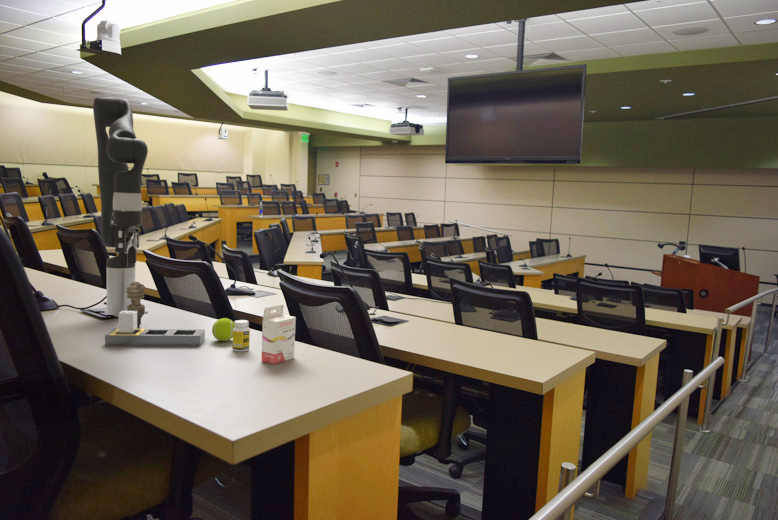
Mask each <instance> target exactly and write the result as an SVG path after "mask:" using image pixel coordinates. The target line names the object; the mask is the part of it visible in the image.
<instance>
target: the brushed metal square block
mask: <svg viewBox="0 0 778 520" xmlns="http://www.w3.org/2000/svg"><path fill="white" fill-rule="evenodd" d="M117 318H118V321H117V322H118V328H117V329H118V331H119V334H136V333H137V329H138V327H137V311H121V312H120V313H118V317H117Z"/></svg>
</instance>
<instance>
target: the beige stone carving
mask: <svg viewBox="0 0 778 520" xmlns="http://www.w3.org/2000/svg"><path fill="white" fill-rule="evenodd" d="M126 289H127V291H126V293H127V294H128V295H127V298H130V299H131V304H130V305H128V306H127V311H137V328H140V326H141V324H142V322H141V321H142V318H143V316H144V315H145V313H146V312H145V311H146V310H145V309H146V306H145V305H144V304H142V303H141V302H142V301H141V300H143V299H144V298H145V289H146V287H145V285H144V284H143V283H141V282H138V281H135V282H132V283H130V286H127V287H126Z"/></svg>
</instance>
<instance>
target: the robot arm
mask: <svg viewBox="0 0 778 520" xmlns="http://www.w3.org/2000/svg"><path fill="white" fill-rule="evenodd" d="M92 105H93V107H92V110H93V120H94V127H95V135H96V146H97V166H98V167H97V169H98V171H97V172H98V182H99V183H98V185H99V193H100V195H99V196H100V203H101V204H100V208H101V209H100V215H101V217H100V220H101V221H100V225H101V226H100V232H101V233H100V235H101V236H100V237H101V243H102V245H103V246H104V247H105V248H115V249H114V251H115V252H116V253H117V254H118V255H115V256H111V257H109V258H107V259H106V260H105V261H106V263H105V265H106V315H107V314H109V315H114V316H115V317H114V318H118V313H120V312H121V311H127V306H128V305H130V304H131V299H130V298H127V295H128V294H127V293H126V291H127V289H126V287H127V286H130V283H132V282H136V263H137V251H138V249H140V229H139V228H138V227H140V226H142V225H143V202H142V192H141V190H142V185H141V184H142V175H143V170H144V166H145V162H146V160H147V156H148V152H149V151H148V150H149V149H148V145H147V144H146V142H145V141H144V140H143V139H140V138H137V136H136V132H135V130H134V117H133V115H134V114H133V109H132V105H131V103H130V101H129V100H128V99H125V98H122V97H106V96H105V97H104V96H97V97H95V98H94V100H93V104H92ZM107 128H108V132H107ZM129 164H133V166H132V168H131V169H130V168H129Z"/></svg>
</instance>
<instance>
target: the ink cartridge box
mask: <svg viewBox="0 0 778 520" xmlns="http://www.w3.org/2000/svg"><path fill="white" fill-rule="evenodd" d="M284 307H285V306H284V304H283V303H282V304H280V305H279V304H278V305H273V306H268V307H264V310H263V314H262V315H263V317H262V329H261V330H262V332H261V334H262V335H261V337H262V338H261V362H264V363H268V364H272V365H277V364H280V363H283V362H286V361H289V360H291V359H294V358H295V347H296V346H295V343H296V342H295V340H296V320H297V317H296V316H291V315H286V314H283V313H284ZM274 310H275V311H274ZM272 311H274V312H272Z"/></svg>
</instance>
